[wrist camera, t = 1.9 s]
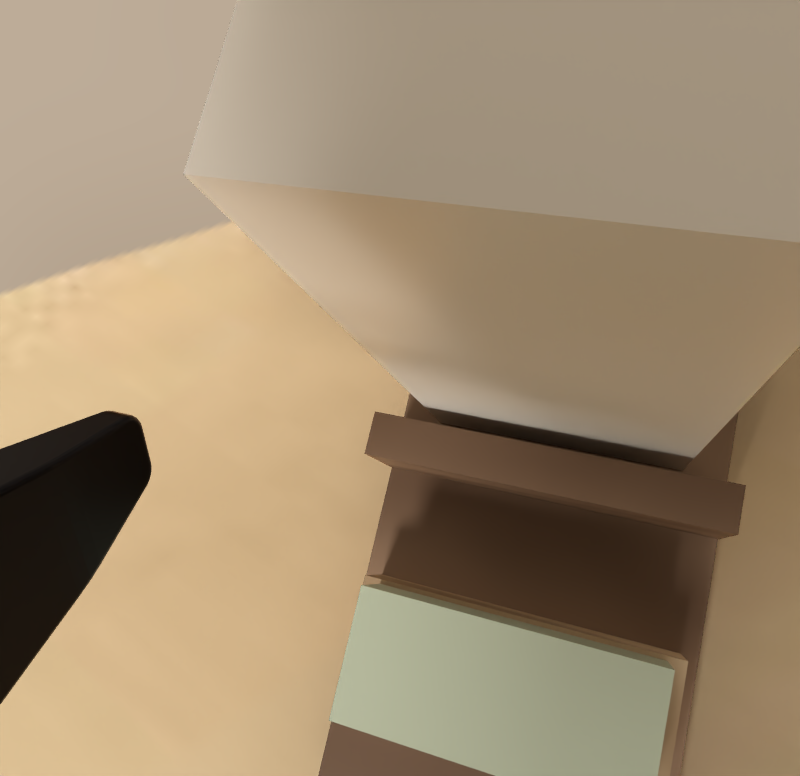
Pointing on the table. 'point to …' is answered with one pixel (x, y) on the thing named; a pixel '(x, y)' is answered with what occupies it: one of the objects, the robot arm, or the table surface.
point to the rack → (545, 547)
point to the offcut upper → (499, 690)
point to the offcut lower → (672, 657)
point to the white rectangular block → (529, 201)
